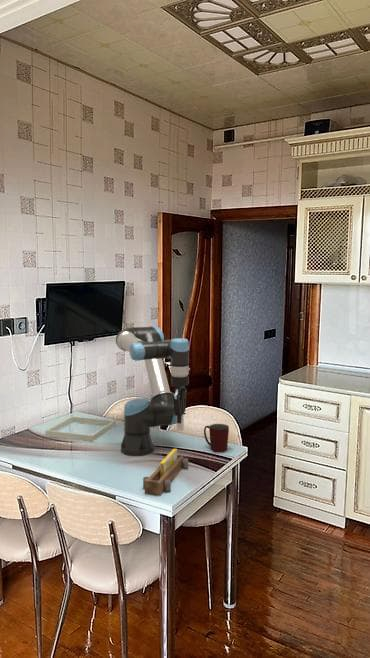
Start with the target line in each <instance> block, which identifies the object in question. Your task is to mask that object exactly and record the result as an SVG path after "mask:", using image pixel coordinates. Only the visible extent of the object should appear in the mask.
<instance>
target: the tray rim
mask: <svg viewBox="0 0 370 658" xmlns="http://www.w3.org/2000/svg"><path fill="white" fill-rule="evenodd" d="M72 422H73V423H74V422H78V423H77V424H84V423H88V424H87V425H94V424H98V425H97V426H103V427H102V428H100V429H99V430H97V431H95V432H93V434H83V433H75V432H66V431H60V430H61V429H60V428H62V427H64V426H66V425H67V426H69V425H71V424H72ZM70 423H71V424H70ZM116 423H117V422H116V420H114V419H113V420H112V419H102V418H95V417H94V418H92V417H83V416H82V417H81V416H73V415H72V416H70V417H69V418H66V419H65V420H62V421H61V422H58V424H55V425H54V426H51V427H49V428H48V429H46V430H44V431H45V432H44V434H45V435H44V436H50V437H49V438H53V437H57V438H56V439H62V438H65V439H64V440H71V439H74V440H73V441H80V440H82V441H81V442H88V441H89V443H93V442H95V441H96V440H98V439H99V438H100V436H101V437H102V436H103V435H105V434H106V433H108V432H109V431H111V430H112V429H114V428H115V427H116V425H117V424H116ZM68 424H69V425H68ZM104 425H106V426H104ZM67 426H66V427H67ZM113 427H114V428H113ZM64 428H65V427H64ZM59 429H60V430H59ZM62 429H63V428H62ZM57 430H59V431H57ZM97 438H98V439H97ZM94 440H95V441H94Z"/></svg>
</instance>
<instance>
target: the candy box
mask: <svg viewBox="0 0 370 658" xmlns="http://www.w3.org/2000/svg"><path fill="white" fill-rule="evenodd" d="M165 456H166V457H165V458H164V459H163V458H162V460H161V461H160V462H159V466H160V478H161V477H162V476H163V475H164V474H165V473H166V472H167V470H168V469H169V468H170V467H171V466H172V465H173V463H174V462H175V461H176V460H177V459H178V458H179V456H178V449H177V448H172V450H171V451H170V452H169V453H168V454H167V455H165Z"/></svg>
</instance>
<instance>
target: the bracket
mask: <svg viewBox="0 0 370 658" xmlns="http://www.w3.org/2000/svg"><path fill="white" fill-rule="evenodd" d="M166 456H167V455H163V457H162V460H163V459H164V458H165V457H166ZM188 469H189V459H188V458H187V457H184V456H178V459H177V460H176V461H175V462H174V463H173V465H172V466H171V467H170V468H169V469H168V470H167V472H166V473H165V474H164V475H163V476H162V477H161V478H160V465H159V466H158V467H157V468H156V469H155V471H153V473H151V474H150V476H144V477H143V478H142V483H143V485H142V486H143V487H142V488H143V490H144V494H145V495H151V496H159V497H161V496H162V495H163V493H171V491H172V490H171V487H172V486H171V483H172V482H173V481H174V480H175V478H176V477H177V475H179V473H181V470H184V471H185V470H188Z"/></svg>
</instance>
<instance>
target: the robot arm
mask: <svg viewBox="0 0 370 658" xmlns="http://www.w3.org/2000/svg"><path fill="white" fill-rule="evenodd" d="M115 344H116V346H117V347H118V349H120V350H121V351H124V352H129V356H130V359H131V360H133V361H142V360H143V361H144V363H145V369H146V372H147V376H148V381H149V385H150V391H151V395H152V396H151V398H147V397H143V398H142V397H139V398H134V399H130V400H129V401H126V403H125V404H124V409H123V410H124V411H123V418H124V421H123V422H124V427H123V428H124V429H123V431H124V435H123V439H122V442H121V444H120V452H121V453H122V454H123V455H126V456H131V457H142V456H147V455H150V454H151V453H154V452H155V451H154V450H155V444H154V441H153V439H152V435H151V428H153V427H165V426H173V425H176V431H181V432H183V431H185V430H184V429H185V428H184V425H185V424H184V415H186V404H187V403H186V402H187V394H188V393H187V392H188V388H186V386H188V385H189V384H190V377H189V374H190V373H189V372H190V370H191V368H190V367H189V366H190V365H189V363H190V357H189V356H190V343H189V340H188V339H187V338H180V337H178V338H171V339H166V340H165V337H164V332H163V331H162V329H161V328H160V327H158V326H139V327H138V326H136V327H127V328H124V329H122V330H120V331H119V332H118V333H117V335H116V336H115ZM163 359H170V375H171V376H170V384H171V386H174V390H173V392H172V391H171V390H170V385H169V382H168V377H167V372H166V370H165V367H164V366H165V365H164V362H163Z"/></svg>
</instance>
